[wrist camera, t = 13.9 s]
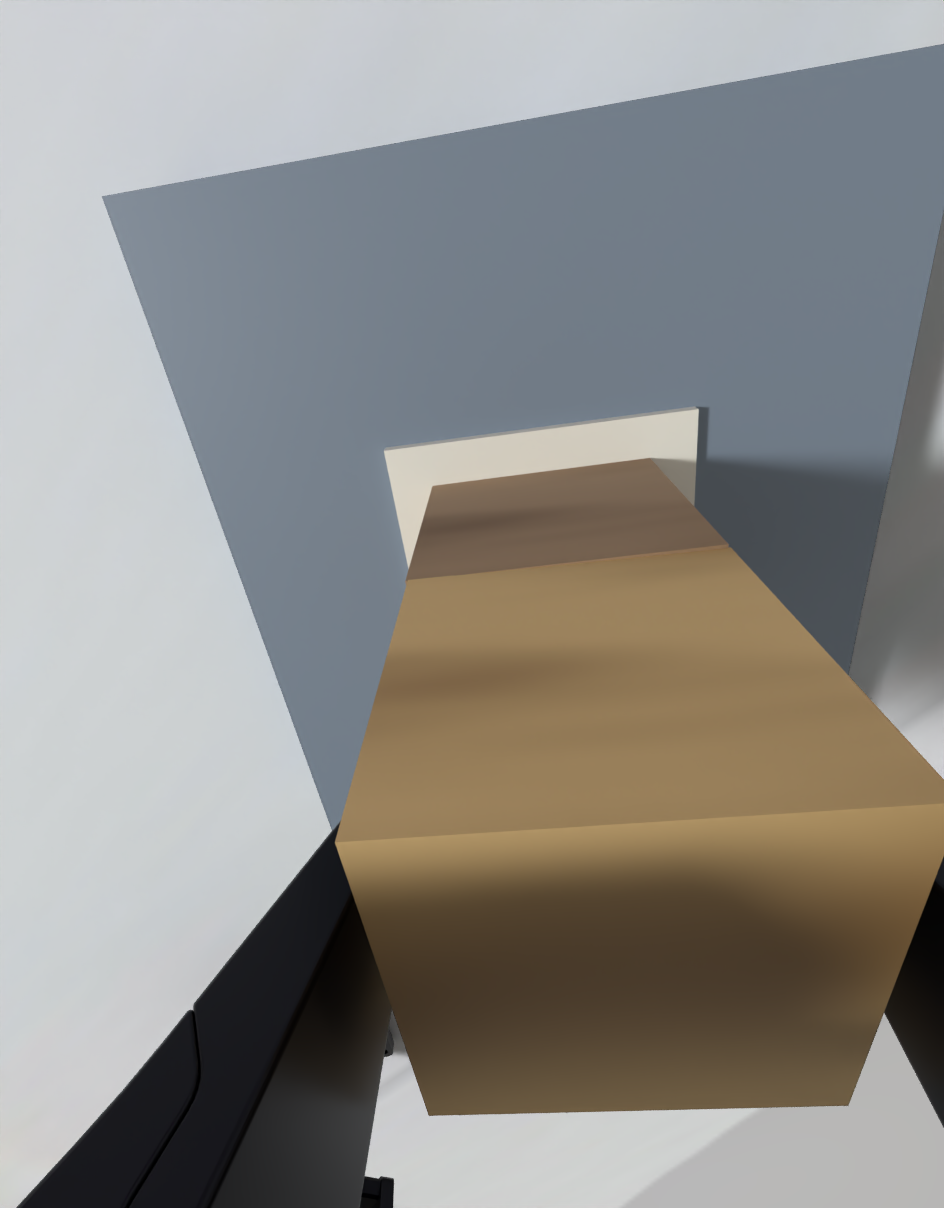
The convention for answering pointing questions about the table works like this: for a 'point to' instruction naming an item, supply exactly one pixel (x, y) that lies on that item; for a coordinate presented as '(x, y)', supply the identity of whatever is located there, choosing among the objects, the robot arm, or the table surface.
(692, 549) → the walnut block
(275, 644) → the board
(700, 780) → the ochre block
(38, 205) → the table surface
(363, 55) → the table surface
